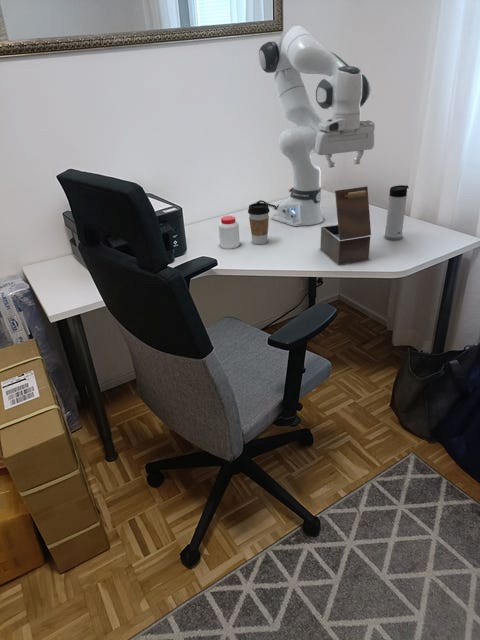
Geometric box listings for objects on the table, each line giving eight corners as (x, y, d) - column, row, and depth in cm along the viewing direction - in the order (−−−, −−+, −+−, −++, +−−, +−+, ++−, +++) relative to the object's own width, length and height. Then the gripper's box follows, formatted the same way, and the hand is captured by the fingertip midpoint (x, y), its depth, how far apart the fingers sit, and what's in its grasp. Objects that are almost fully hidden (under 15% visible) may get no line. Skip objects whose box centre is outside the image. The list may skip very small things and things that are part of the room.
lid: (334, 190, 164) (341, 189, 159) (366, 186, 167) (373, 185, 162) (339, 239, 168) (345, 240, 163) (370, 235, 170) (377, 235, 165)
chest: (320, 249, 185) (321, 226, 181) (348, 244, 187) (349, 222, 183) (338, 264, 172) (339, 241, 168) (368, 259, 174) (370, 236, 170)
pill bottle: (232, 249, 189) (231, 222, 184) (216, 246, 193) (214, 219, 187) (243, 243, 195) (242, 216, 189) (227, 240, 198) (225, 213, 193)
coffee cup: (246, 244, 193) (244, 207, 185) (253, 237, 200) (251, 200, 192) (266, 246, 190) (265, 208, 183) (273, 238, 197) (272, 201, 190)
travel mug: (403, 240, 188) (409, 188, 178) (385, 240, 190) (390, 188, 179) (401, 234, 193) (408, 183, 183) (384, 234, 195) (389, 183, 185)
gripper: (370, 118, 165) (367, 160, 172) (313, 124, 161) (312, 167, 168) (379, 120, 160) (376, 164, 167) (321, 126, 155) (320, 171, 162)
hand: (343, 165), depth 167 cm, fingers open, 8 cm apart
